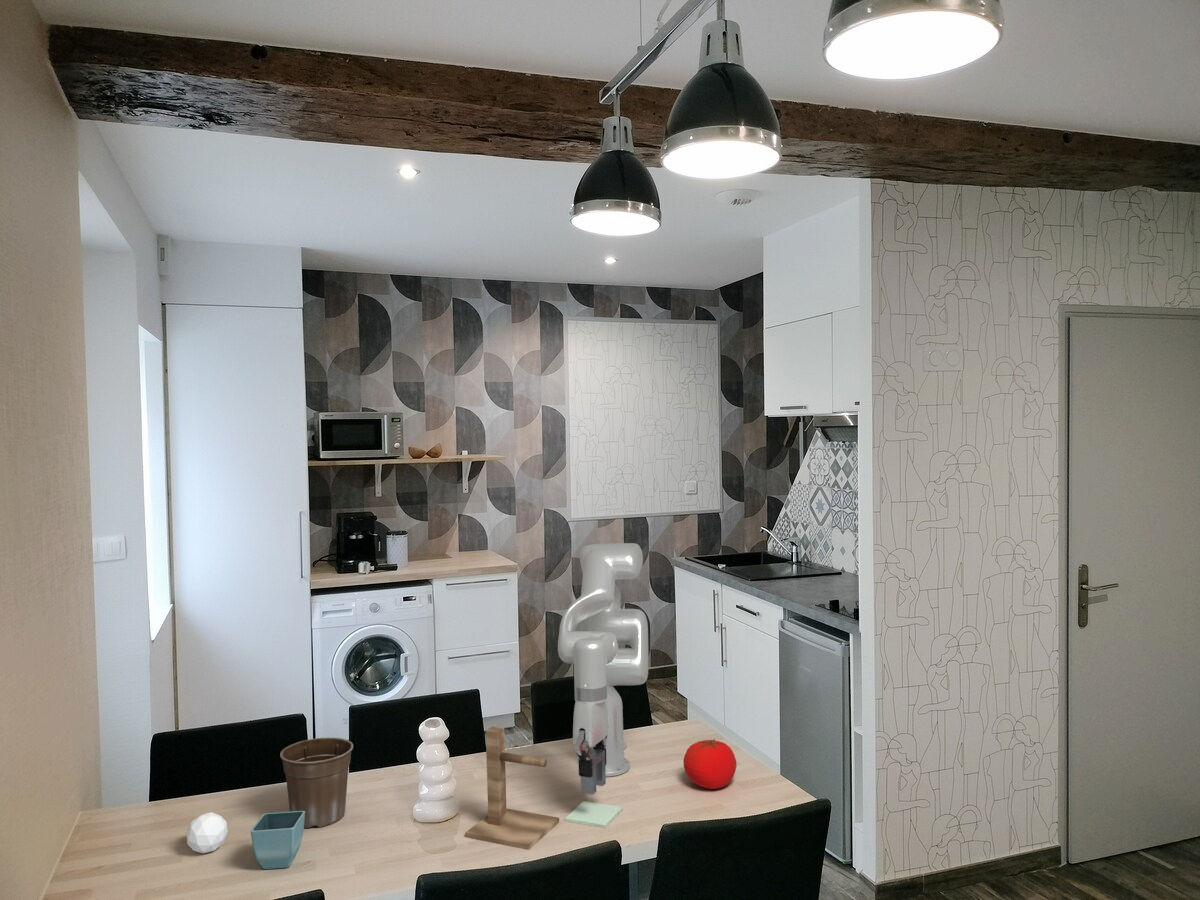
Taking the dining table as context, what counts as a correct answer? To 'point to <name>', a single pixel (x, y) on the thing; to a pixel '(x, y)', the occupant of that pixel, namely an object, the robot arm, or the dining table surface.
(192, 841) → the white faceted egg
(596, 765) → the link
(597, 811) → the mat
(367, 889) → the dining table surface
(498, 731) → the stand
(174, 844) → the dining table surface
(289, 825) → the flower pot
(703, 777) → the tomato
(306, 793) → the plant pot
